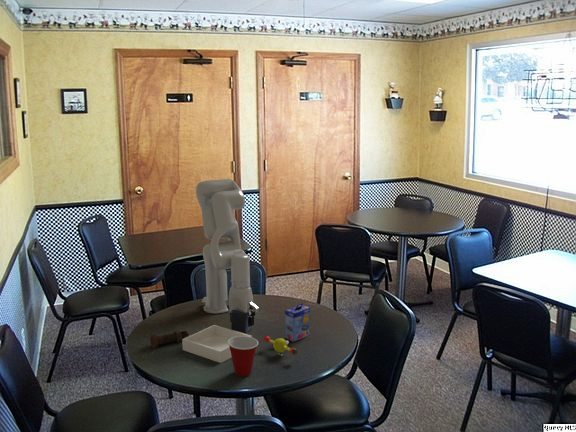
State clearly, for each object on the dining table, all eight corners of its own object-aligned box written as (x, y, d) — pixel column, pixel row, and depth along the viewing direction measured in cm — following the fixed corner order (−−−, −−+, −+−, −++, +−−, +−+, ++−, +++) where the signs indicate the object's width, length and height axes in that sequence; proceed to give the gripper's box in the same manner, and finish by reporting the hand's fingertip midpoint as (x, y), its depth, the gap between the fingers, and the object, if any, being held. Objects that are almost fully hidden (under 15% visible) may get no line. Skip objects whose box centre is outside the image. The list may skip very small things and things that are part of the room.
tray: (182, 350, 227) (182, 339, 226) (214, 335, 241) (214, 324, 240) (220, 363, 215) (220, 351, 214) (252, 346, 229) (251, 335, 228)
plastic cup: (259, 379, 202) (259, 346, 200) (228, 380, 202) (227, 348, 199) (258, 365, 213) (258, 334, 211) (228, 366, 212) (227, 335, 210)
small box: (246, 337, 238) (245, 313, 236) (230, 336, 239) (230, 312, 237) (253, 327, 248) (252, 304, 246) (238, 326, 250) (237, 303, 248)
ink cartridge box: (294, 342, 233) (294, 307, 230) (284, 338, 237) (283, 304, 234) (310, 335, 240) (310, 301, 237) (300, 331, 244) (300, 298, 241)
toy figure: (302, 360, 216) (302, 343, 215) (291, 365, 213) (290, 347, 211) (271, 346, 230) (270, 329, 228) (260, 350, 226) (259, 333, 225)
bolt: (188, 343, 238) (153, 351, 229) (184, 334, 241) (149, 341, 232) (191, 334, 234) (155, 341, 226) (187, 324, 237) (151, 331, 229)
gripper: (219, 282, 242) (220, 322, 245) (251, 289, 232) (252, 330, 235) (231, 278, 248) (232, 316, 251) (263, 284, 238) (264, 324, 241)
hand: (242, 323), depth 243 cm, fingers open, 9 cm apart
